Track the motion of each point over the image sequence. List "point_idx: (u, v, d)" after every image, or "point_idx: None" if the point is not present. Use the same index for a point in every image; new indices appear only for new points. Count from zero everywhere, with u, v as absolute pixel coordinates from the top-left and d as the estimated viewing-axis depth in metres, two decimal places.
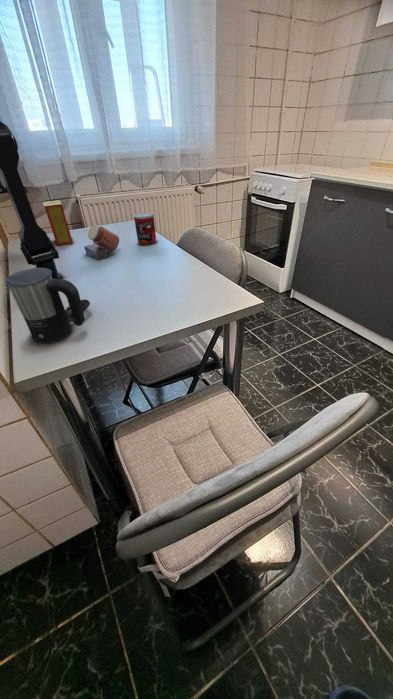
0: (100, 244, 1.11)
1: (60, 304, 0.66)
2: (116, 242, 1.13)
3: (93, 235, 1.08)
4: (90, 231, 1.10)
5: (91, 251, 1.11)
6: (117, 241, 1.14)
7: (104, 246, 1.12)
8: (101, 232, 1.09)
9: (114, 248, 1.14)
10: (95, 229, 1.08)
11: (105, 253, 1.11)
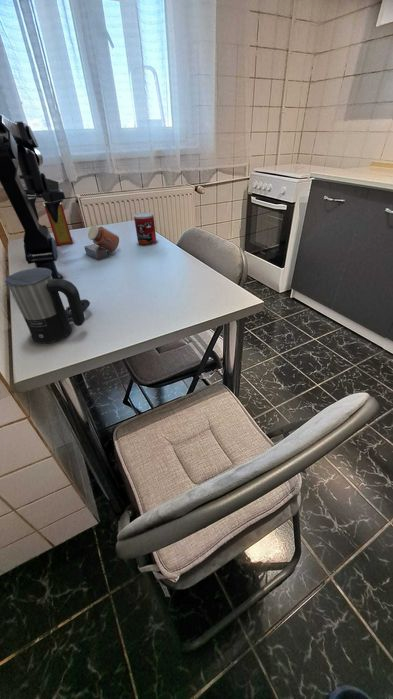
0: (100, 244, 1.11)
1: (60, 304, 0.66)
2: (116, 242, 1.13)
3: (93, 235, 1.08)
4: (90, 231, 1.10)
5: (91, 251, 1.11)
6: (117, 241, 1.14)
7: (104, 246, 1.12)
8: (101, 232, 1.09)
9: (114, 248, 1.14)
10: (95, 229, 1.08)
11: (105, 253, 1.11)
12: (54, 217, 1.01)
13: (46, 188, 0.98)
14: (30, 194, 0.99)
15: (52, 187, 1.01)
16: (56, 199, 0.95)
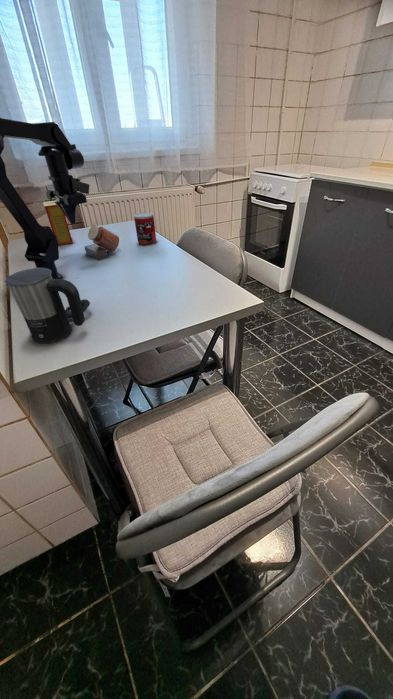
0: (100, 244, 1.11)
1: (60, 304, 0.66)
2: (116, 242, 1.13)
3: (93, 235, 1.08)
4: (90, 231, 1.10)
5: (91, 251, 1.11)
6: (117, 241, 1.14)
7: (104, 246, 1.12)
8: (101, 232, 1.09)
9: (114, 248, 1.14)
10: (95, 229, 1.08)
11: (105, 253, 1.11)
12: (70, 218, 1.01)
13: (72, 190, 0.96)
14: None
15: (80, 189, 0.98)
16: (74, 203, 0.92)
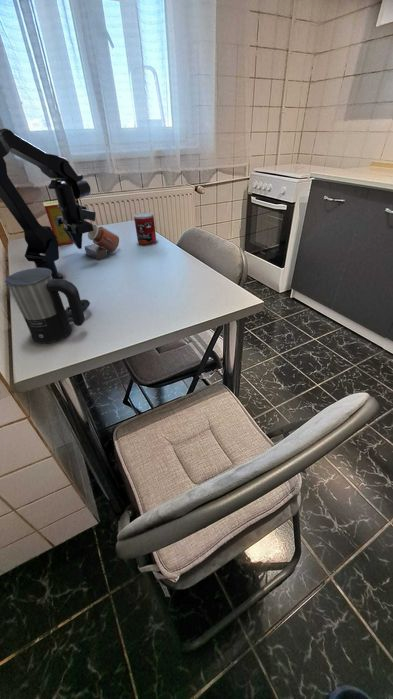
0: (100, 244, 1.11)
1: (60, 304, 0.66)
2: (116, 242, 1.13)
3: (93, 235, 1.08)
4: None
5: (91, 251, 1.11)
6: (117, 241, 1.14)
7: (104, 246, 1.12)
8: (101, 232, 1.09)
9: (114, 248, 1.14)
10: (95, 229, 1.08)
11: (105, 253, 1.11)
12: (77, 244, 1.06)
13: (80, 218, 1.02)
14: None
15: (87, 217, 1.03)
16: (82, 232, 0.97)
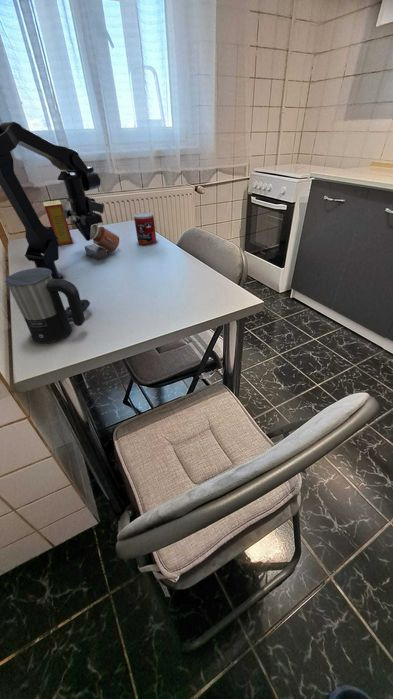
0: (100, 244, 1.11)
1: (60, 304, 0.66)
2: (116, 242, 1.13)
3: (93, 235, 1.08)
4: (90, 231, 1.10)
5: (91, 251, 1.11)
6: (117, 241, 1.14)
7: (104, 246, 1.12)
8: (101, 232, 1.09)
9: (114, 248, 1.14)
10: (95, 229, 1.08)
11: (105, 253, 1.11)
12: (86, 236, 1.07)
13: (88, 210, 1.02)
14: None
15: (96, 209, 1.04)
16: (91, 223, 0.98)
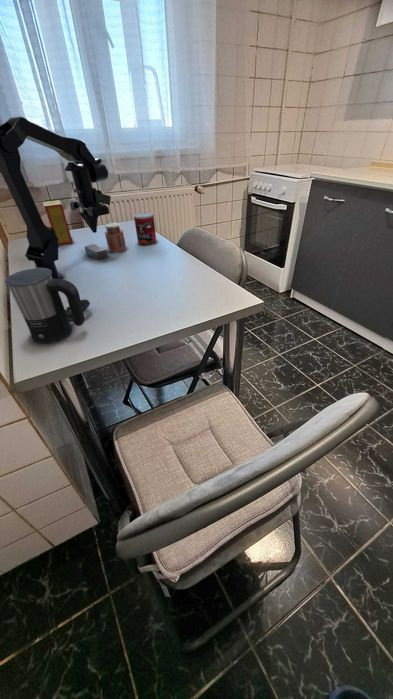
0: (110, 237, 1.12)
1: (60, 304, 0.66)
2: (123, 248, 1.16)
3: (112, 226, 1.11)
4: (110, 224, 1.14)
5: (91, 251, 1.11)
6: (124, 248, 1.17)
7: (111, 241, 1.13)
8: (119, 230, 1.14)
9: (117, 250, 1.16)
10: (117, 224, 1.13)
11: (105, 253, 1.11)
12: (92, 227, 1.07)
13: (95, 202, 1.03)
14: None
15: (103, 201, 1.04)
16: (98, 214, 0.99)
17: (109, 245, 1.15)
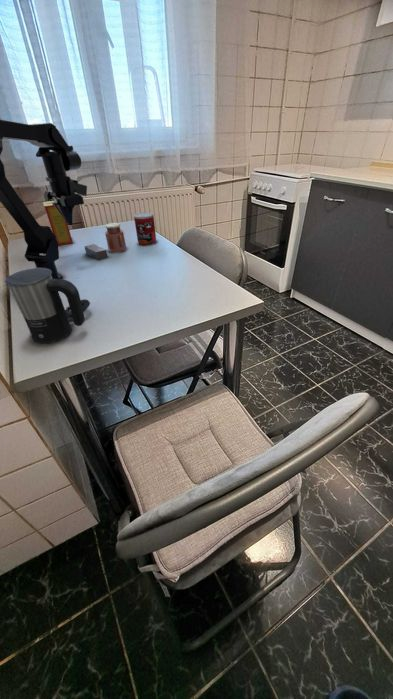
0: (111, 236, 1.12)
1: (60, 304, 0.66)
2: (123, 248, 1.16)
3: (112, 226, 1.11)
4: (110, 224, 1.14)
5: (91, 251, 1.11)
6: (124, 248, 1.17)
7: (112, 241, 1.13)
8: (119, 230, 1.14)
9: (117, 250, 1.16)
10: (117, 224, 1.13)
11: (105, 253, 1.11)
12: (67, 219, 1.00)
13: (70, 191, 0.96)
14: None
15: (78, 191, 0.98)
16: (71, 204, 0.92)
17: (109, 245, 1.15)
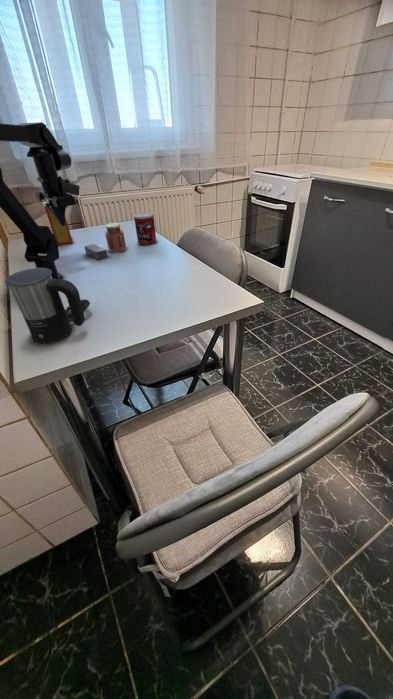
0: (111, 236, 1.12)
1: (60, 304, 0.66)
2: (123, 248, 1.16)
3: (112, 226, 1.11)
4: (110, 224, 1.14)
5: (91, 251, 1.11)
6: (124, 248, 1.17)
7: (112, 241, 1.13)
8: (119, 230, 1.14)
9: (117, 250, 1.16)
10: (117, 224, 1.13)
11: (105, 253, 1.11)
12: (60, 220, 0.99)
13: (62, 192, 0.94)
14: None
15: (70, 191, 0.96)
16: (64, 205, 0.90)
17: (109, 245, 1.15)
